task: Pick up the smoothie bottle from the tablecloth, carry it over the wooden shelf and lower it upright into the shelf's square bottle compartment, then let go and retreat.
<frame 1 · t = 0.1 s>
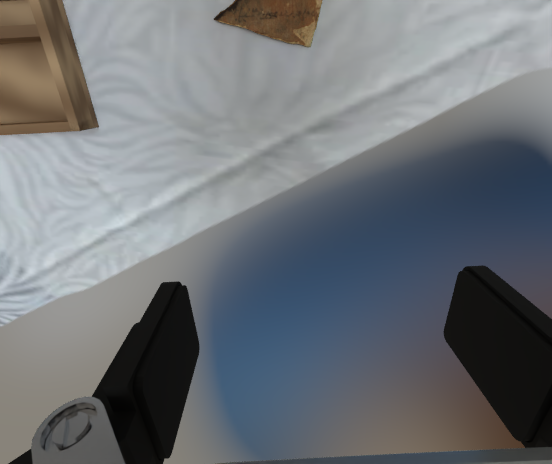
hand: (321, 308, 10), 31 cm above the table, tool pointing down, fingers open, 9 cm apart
wooden shelf: (16, 34, 33), on the table
shard: (279, 20, 33), on the table
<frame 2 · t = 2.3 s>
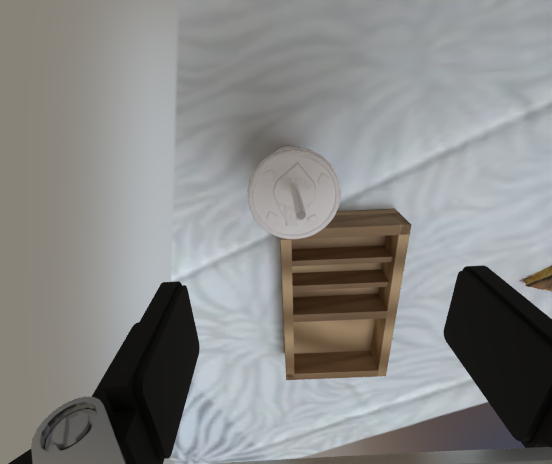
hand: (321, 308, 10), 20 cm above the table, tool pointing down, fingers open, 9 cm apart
smoothie: (287, 165, 29), on the table
wooden shelf: (333, 290, 35), on the table
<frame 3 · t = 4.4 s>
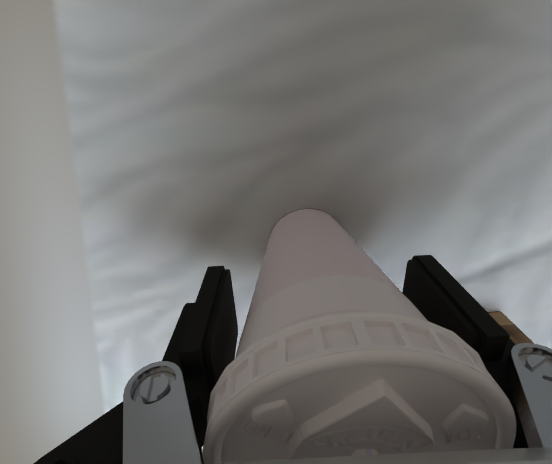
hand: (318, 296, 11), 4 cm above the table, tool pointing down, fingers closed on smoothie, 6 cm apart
smoothie: (305, 241, 15), on the table, touching gripper
wooden shelf: (378, 426, 21), on the table
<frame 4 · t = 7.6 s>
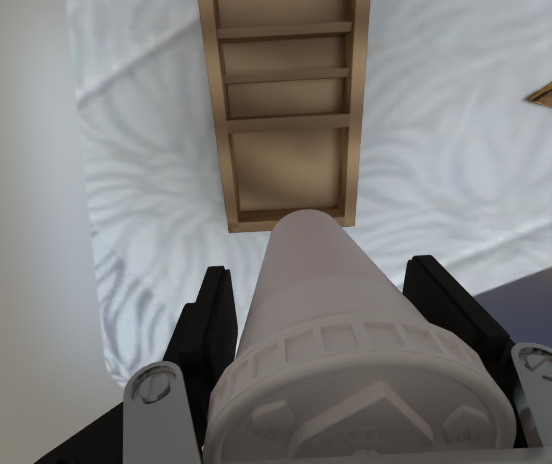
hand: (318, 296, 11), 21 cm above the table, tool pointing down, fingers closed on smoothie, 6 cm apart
smoothie: (305, 242, 15), point 16 cm above the table, touching gripper
wooden shelf: (285, 114, 28), on the table
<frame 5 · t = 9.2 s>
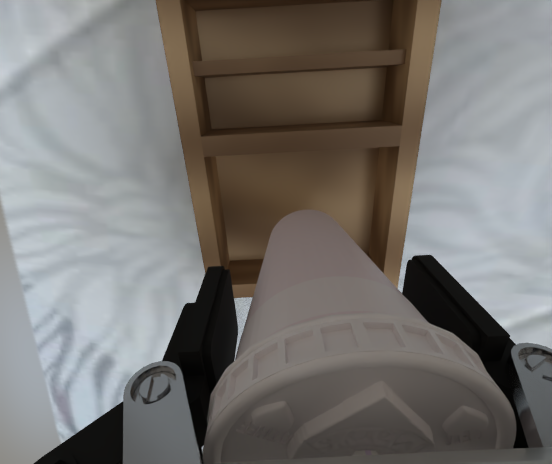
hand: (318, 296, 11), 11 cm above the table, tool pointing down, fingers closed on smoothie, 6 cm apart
smoothie: (305, 242, 15), point 6 cm above the table, touching gripper
wooden shelf: (295, 122, 18), on the table
when the fingers open (6 cm above the table, at t = 10.6 s): smoothie drops 1 cm, resting on wooden shelf.
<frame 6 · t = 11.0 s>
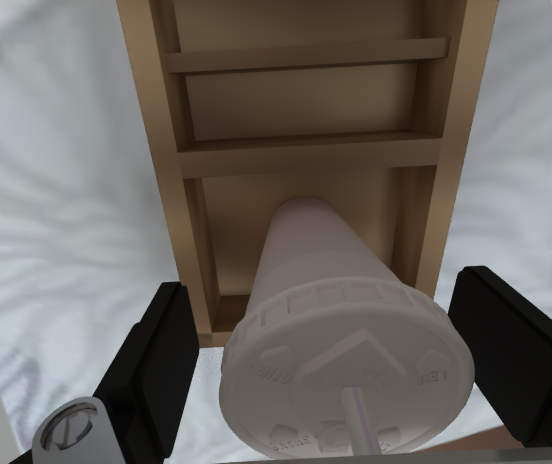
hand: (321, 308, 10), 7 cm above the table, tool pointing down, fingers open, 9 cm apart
smoothie: (303, 227, 16), point 1 cm above the table, touching wooden shelf
wooden shelf: (300, 132, 15), on the table
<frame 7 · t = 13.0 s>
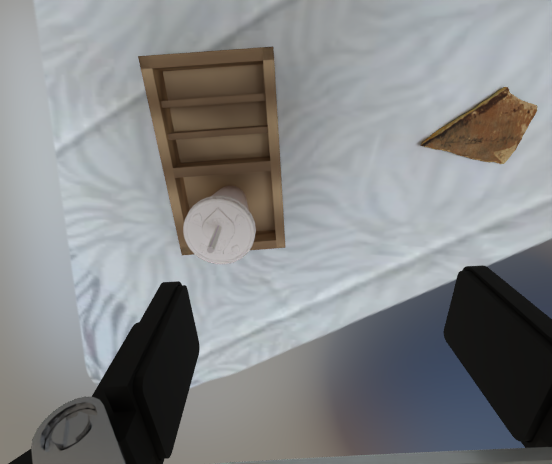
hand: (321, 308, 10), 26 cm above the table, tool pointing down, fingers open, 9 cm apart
smoothie: (231, 200, 35), point 1 cm above the table, touching wooden shelf
wooden shelf: (226, 157, 34), on the table
shard: (473, 139, 35), on the table
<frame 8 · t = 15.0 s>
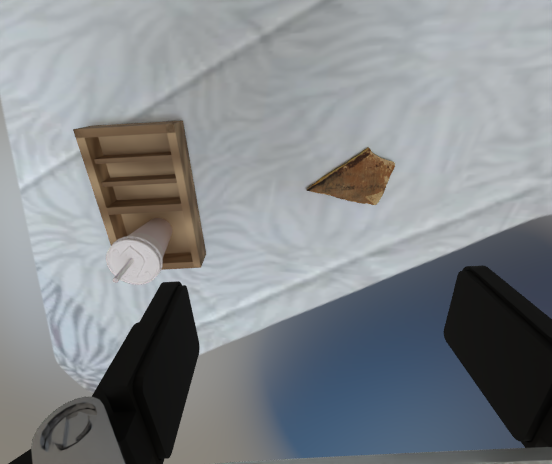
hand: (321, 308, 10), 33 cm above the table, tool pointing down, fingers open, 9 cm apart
smoothie: (160, 228, 45), point 1 cm above the table, touching wooden shelf
wooden shelf: (154, 196, 43), on the table
shard: (353, 185, 44), on the table
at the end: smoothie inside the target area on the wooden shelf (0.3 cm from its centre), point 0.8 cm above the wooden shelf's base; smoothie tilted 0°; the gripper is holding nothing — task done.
